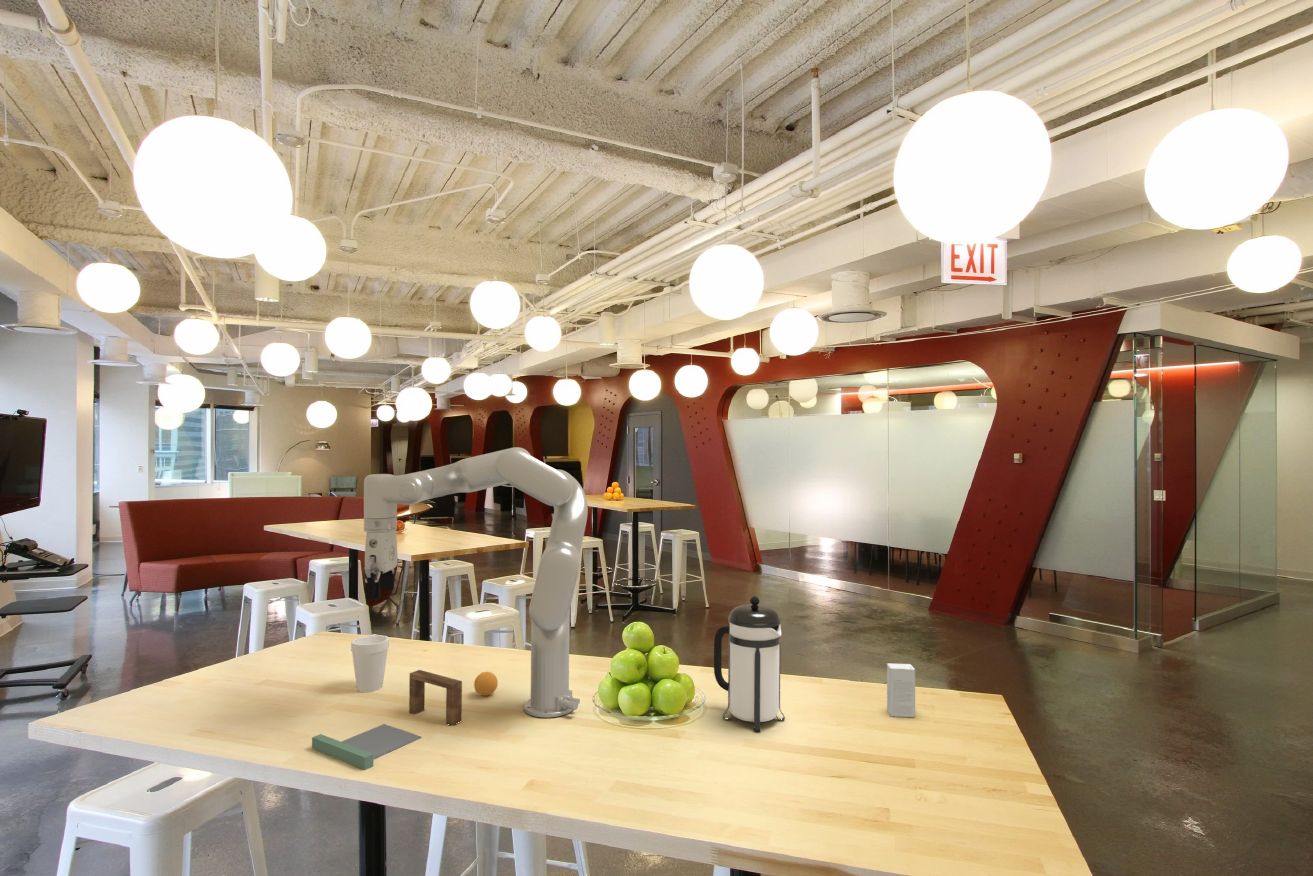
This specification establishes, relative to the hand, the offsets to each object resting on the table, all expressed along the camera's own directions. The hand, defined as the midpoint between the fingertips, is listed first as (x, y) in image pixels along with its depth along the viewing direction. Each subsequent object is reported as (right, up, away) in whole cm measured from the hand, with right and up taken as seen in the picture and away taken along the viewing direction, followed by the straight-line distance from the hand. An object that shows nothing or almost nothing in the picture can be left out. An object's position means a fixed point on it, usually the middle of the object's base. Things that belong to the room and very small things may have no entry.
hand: (380, 594), depth 170 cm
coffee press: (+90, -30, -1) cm, 95 cm away
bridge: (+14, -30, -2) cm, 33 cm away
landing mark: (+6, -29, -15) cm, 34 cm away
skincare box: (+129, -31, +3) cm, 132 cm away
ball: (+23, -27, +13) cm, 37 cm away
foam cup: (-10, -30, +17) cm, 36 cm away
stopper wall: (+1, -29, -23) cm, 37 cm away
